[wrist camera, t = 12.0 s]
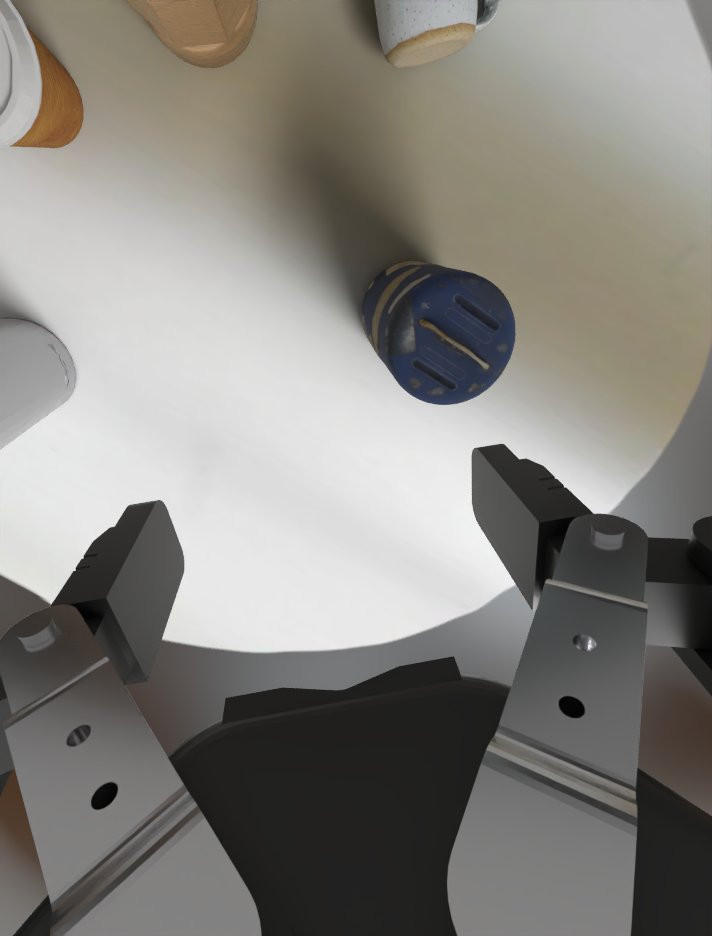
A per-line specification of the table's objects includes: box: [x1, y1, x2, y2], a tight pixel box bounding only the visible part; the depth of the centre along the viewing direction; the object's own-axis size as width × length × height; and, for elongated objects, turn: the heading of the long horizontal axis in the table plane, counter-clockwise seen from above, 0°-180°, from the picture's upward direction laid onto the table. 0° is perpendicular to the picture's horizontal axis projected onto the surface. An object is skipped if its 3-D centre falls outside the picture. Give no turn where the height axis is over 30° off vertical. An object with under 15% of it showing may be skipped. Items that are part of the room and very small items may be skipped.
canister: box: [362, 261, 515, 405], centre depth 39 cm, size 10×10×18 cm
